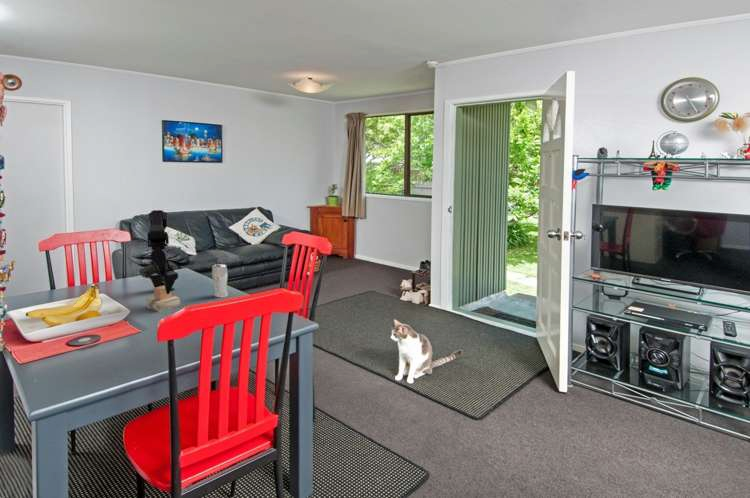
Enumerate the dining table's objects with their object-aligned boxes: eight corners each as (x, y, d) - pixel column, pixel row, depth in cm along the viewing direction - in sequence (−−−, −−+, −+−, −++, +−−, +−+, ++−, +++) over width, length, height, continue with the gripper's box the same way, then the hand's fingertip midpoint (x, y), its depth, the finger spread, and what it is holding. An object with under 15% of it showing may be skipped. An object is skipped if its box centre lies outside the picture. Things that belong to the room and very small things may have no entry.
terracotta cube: (154, 298, 214) (153, 287, 213) (165, 296, 218) (164, 285, 217) (160, 300, 211) (159, 289, 210) (171, 297, 215) (170, 287, 214)
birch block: (147, 307, 214) (146, 298, 213) (168, 302, 222) (167, 293, 221) (159, 311, 208) (158, 303, 207) (180, 306, 216) (179, 297, 215)
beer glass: (224, 298, 228) (222, 267, 225) (211, 297, 229) (208, 266, 226) (231, 294, 234) (229, 264, 231) (218, 293, 236) (216, 263, 233)
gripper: (130, 258, 210) (134, 292, 213) (152, 264, 199) (156, 300, 202) (155, 254, 218) (158, 287, 221) (177, 259, 207) (180, 294, 210)
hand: (162, 292), depth 213 cm, fingers open, 9 cm apart
